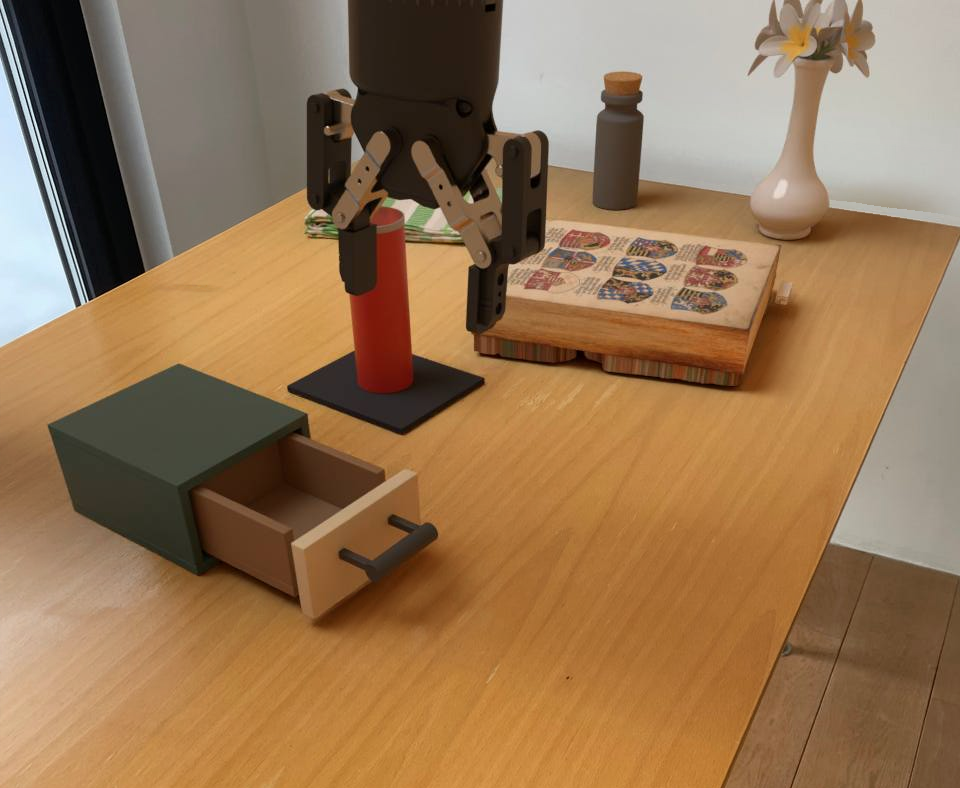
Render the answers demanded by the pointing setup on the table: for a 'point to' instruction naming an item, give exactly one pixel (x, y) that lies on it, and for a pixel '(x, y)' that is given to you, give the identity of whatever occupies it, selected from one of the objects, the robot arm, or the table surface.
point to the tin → (385, 313)
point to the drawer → (310, 520)
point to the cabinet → (163, 454)
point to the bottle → (618, 142)
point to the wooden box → (638, 302)
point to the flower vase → (804, 106)
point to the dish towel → (418, 223)
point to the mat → (391, 410)
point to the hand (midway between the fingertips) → (419, 310)
